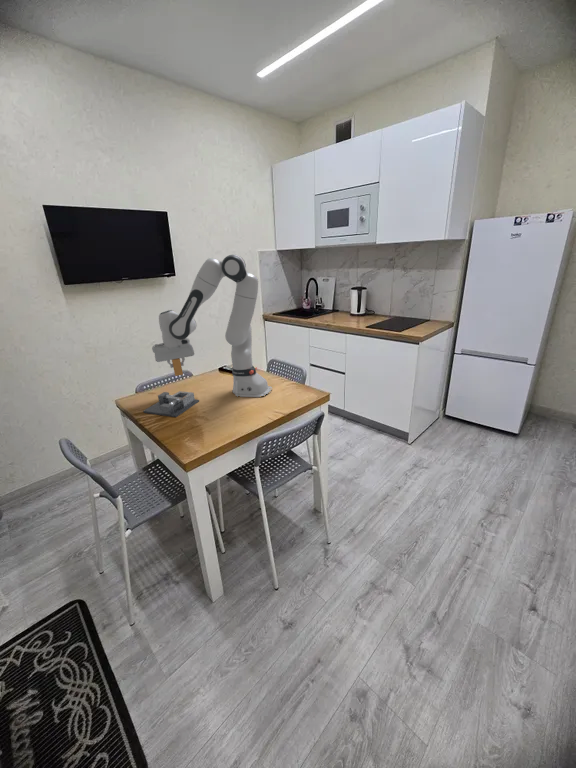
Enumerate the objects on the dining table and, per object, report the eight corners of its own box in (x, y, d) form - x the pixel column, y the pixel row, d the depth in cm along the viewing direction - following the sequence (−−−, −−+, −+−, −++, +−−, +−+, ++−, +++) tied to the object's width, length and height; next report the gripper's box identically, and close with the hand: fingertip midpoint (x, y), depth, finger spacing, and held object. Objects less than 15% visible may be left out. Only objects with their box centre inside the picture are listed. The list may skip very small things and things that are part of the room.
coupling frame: (199, 401, 168) (197, 391, 166) (176, 417, 151) (174, 406, 149) (168, 397, 175) (166, 388, 173) (143, 412, 158) (141, 402, 156)
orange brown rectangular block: (182, 372, 177) (179, 357, 174) (183, 374, 173) (179, 358, 170) (174, 374, 175) (171, 358, 172) (175, 376, 172) (172, 360, 169)
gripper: (151, 346, 161) (157, 371, 166) (192, 339, 169) (196, 364, 174) (151, 343, 167) (156, 368, 172) (190, 337, 174) (194, 361, 179)
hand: (177, 366), depth 173 cm, fingers closed on orange brown rectangular block, 4 cm apart
